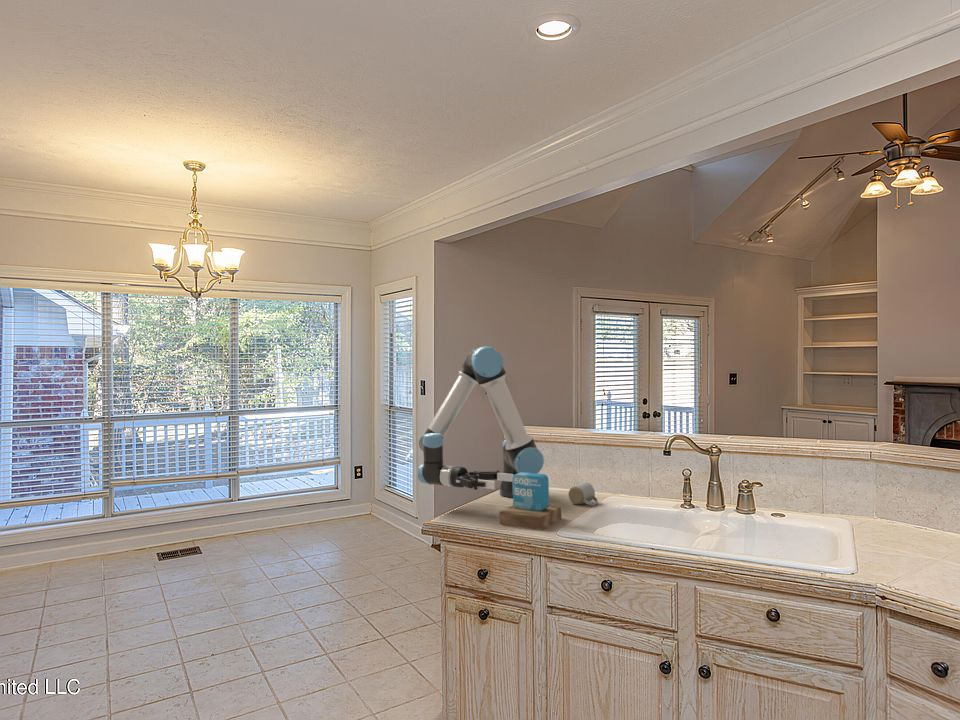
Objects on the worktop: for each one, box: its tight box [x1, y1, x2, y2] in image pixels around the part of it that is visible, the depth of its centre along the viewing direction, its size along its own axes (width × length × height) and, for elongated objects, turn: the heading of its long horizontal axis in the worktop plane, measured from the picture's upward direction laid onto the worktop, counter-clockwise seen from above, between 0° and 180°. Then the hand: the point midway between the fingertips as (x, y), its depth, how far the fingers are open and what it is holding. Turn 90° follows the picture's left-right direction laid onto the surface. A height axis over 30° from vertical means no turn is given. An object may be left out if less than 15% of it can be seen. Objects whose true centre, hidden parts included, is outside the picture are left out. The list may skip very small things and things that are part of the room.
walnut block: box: [498, 504, 562, 531], centre depth 212 cm, size 16×16×5 cm
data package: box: [512, 472, 550, 511], centre depth 212 cm, size 12×4×12 cm, turn 59°
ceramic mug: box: [568, 481, 599, 507], centre depth 235 cm, size 11×8×8 cm
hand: (504, 481), depth 217 cm, fingers open, 13 cm apart
